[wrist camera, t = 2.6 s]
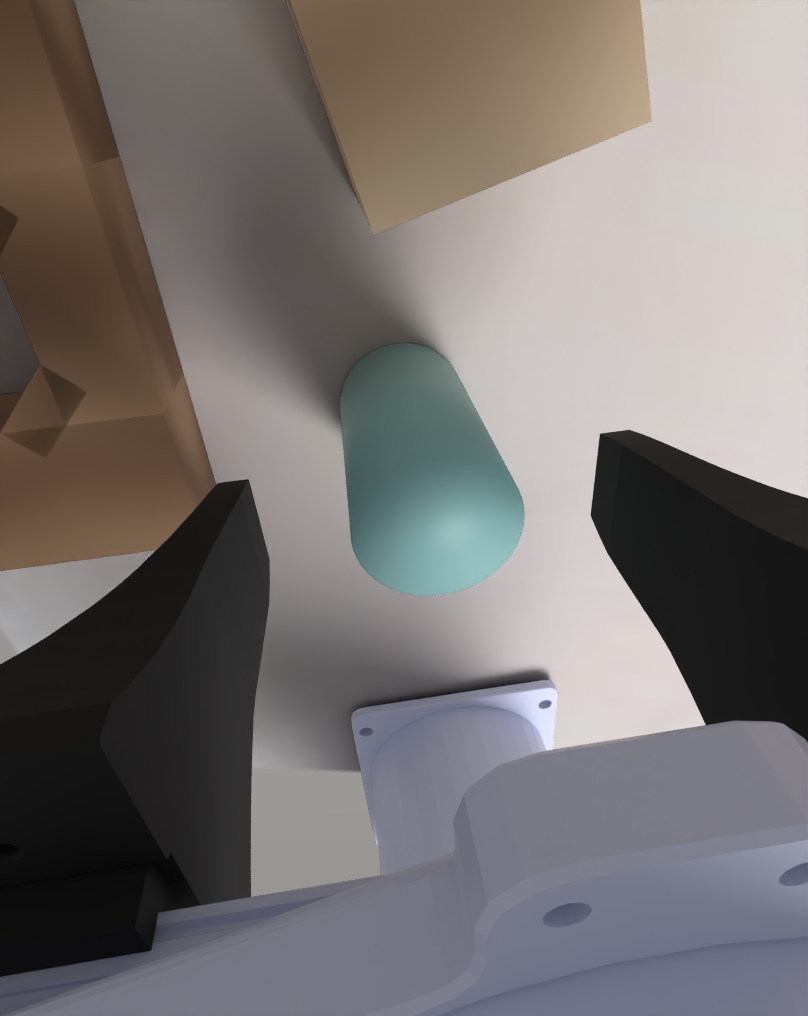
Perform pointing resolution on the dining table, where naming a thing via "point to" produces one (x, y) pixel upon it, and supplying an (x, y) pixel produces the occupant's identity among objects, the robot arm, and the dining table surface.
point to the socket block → (82, 320)
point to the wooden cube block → (468, 90)
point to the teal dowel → (423, 475)
